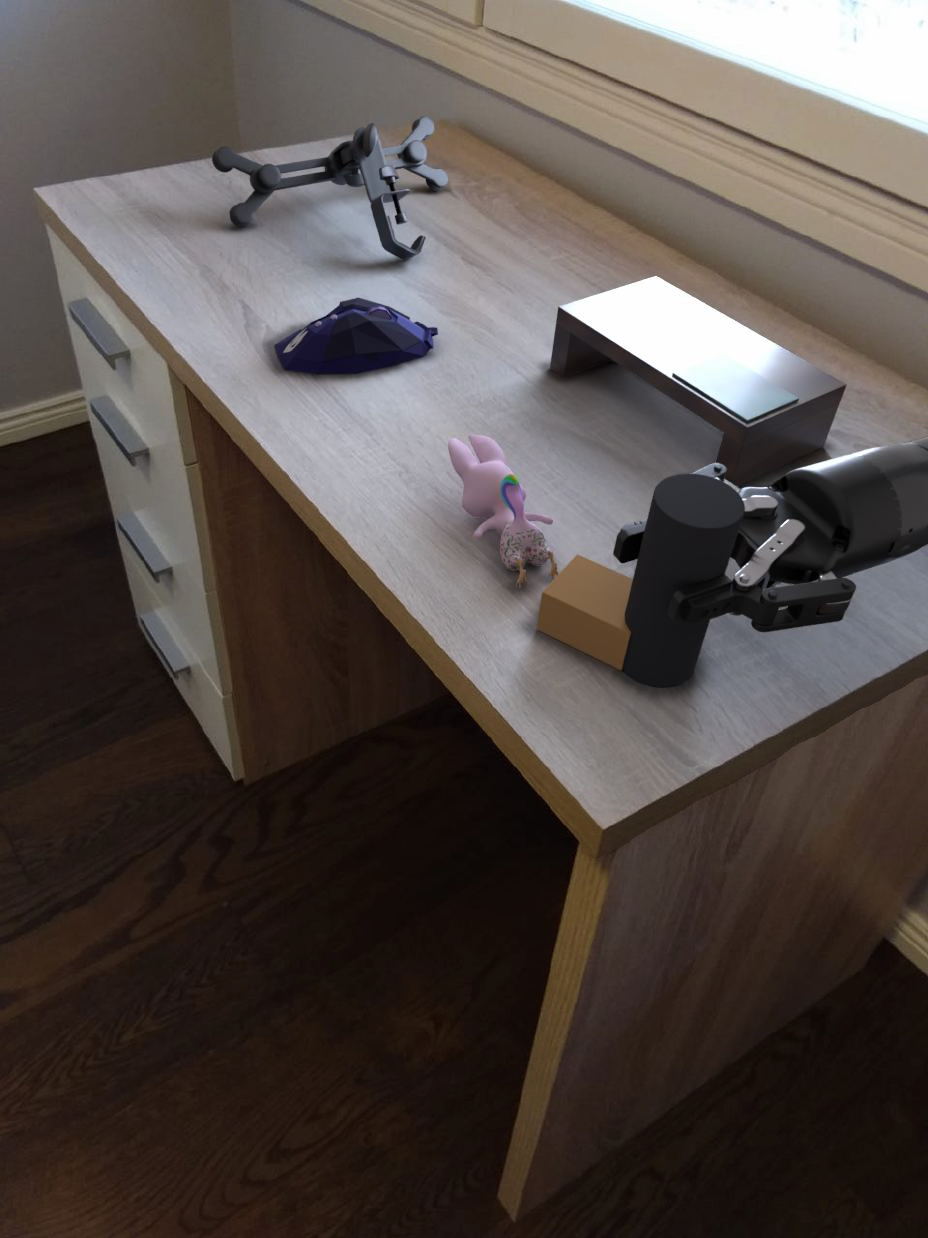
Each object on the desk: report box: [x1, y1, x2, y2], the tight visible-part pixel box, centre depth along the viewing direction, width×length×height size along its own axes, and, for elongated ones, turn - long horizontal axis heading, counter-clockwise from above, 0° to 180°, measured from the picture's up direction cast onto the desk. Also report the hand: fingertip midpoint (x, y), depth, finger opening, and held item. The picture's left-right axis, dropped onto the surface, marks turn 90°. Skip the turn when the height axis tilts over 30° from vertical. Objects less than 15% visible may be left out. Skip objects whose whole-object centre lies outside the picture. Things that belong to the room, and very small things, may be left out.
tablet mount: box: [211, 115, 449, 261], centre depth 109 cm, size 27×14×17 cm
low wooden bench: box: [549, 275, 848, 488], centre depth 87 cm, size 22×12×6 cm, turn 37°
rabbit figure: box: [447, 434, 559, 588], centre depth 74 cm, size 6×6×15 cm
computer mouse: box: [274, 297, 439, 375], centre depth 92 cm, size 9×15×4 cm, turn 108°
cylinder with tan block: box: [536, 472, 745, 688], centre depth 63 cm, size 10×5×13 cm, turn 57°
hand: (646, 577), depth 60 cm, fingers closed on cylinder with tan block, 5 cm apart
